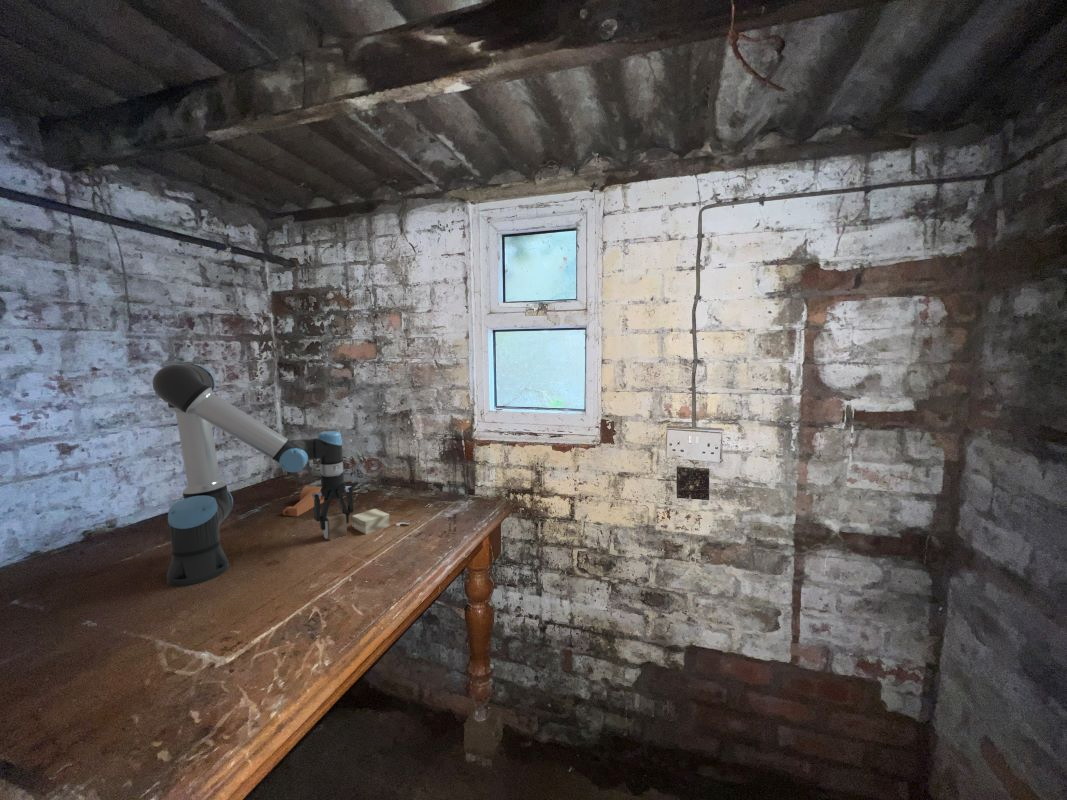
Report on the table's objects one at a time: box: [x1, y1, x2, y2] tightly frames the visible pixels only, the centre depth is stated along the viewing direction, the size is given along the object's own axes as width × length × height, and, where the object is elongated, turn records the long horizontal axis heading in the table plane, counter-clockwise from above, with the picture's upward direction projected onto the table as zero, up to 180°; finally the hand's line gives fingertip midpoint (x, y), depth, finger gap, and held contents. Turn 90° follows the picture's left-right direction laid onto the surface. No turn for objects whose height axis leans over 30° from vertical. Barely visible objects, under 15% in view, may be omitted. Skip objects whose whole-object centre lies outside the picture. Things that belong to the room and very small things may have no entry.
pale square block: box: [351, 508, 391, 535], centre depth 167 cm, size 10×10×5 cm
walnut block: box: [326, 510, 348, 541], centre depth 158 cm, size 6×6×8 cm
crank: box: [282, 485, 324, 517], centre depth 187 cm, size 20×8×8 cm, turn 170°
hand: (335, 534), depth 159 cm, fingers closed on walnut block, 6 cm apart
